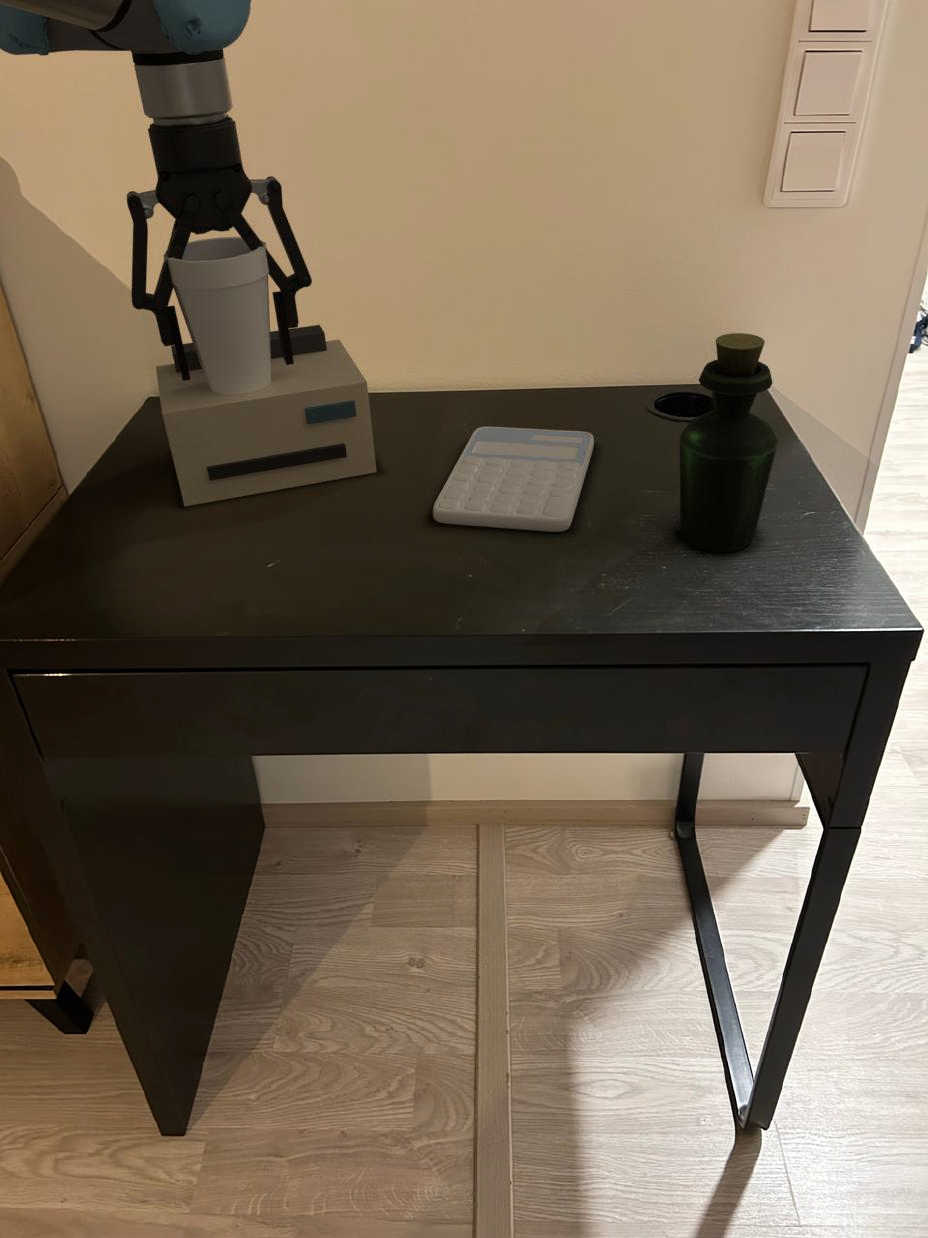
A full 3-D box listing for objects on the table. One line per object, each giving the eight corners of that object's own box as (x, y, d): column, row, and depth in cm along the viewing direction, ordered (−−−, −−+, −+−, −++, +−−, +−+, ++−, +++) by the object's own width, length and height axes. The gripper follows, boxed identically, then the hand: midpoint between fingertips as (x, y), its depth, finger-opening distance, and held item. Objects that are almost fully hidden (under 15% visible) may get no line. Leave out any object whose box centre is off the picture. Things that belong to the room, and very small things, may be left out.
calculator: (430, 525, 91) (428, 507, 90) (476, 438, 107) (475, 422, 106) (569, 535, 88) (569, 517, 87) (595, 444, 104) (596, 428, 103)
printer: (184, 508, 96) (157, 394, 89) (176, 452, 108) (151, 347, 101) (377, 473, 101) (365, 363, 94) (349, 423, 112) (337, 321, 105)
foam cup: (306, 375, 97) (286, 241, 90) (243, 406, 91) (216, 266, 84) (238, 361, 102) (214, 233, 94) (173, 390, 96) (142, 256, 88)
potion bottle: (763, 517, 89) (791, 326, 79) (763, 562, 83) (794, 360, 72) (674, 511, 91) (691, 322, 81) (668, 554, 85) (685, 356, 74)
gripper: (309, 101, 88) (338, 340, 101) (58, 124, 83) (122, 372, 96) (324, 110, 82) (353, 363, 95) (55, 136, 77) (124, 398, 90)
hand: (237, 367), depth 96 cm, fingers closed on foam cup, 9 cm apart
